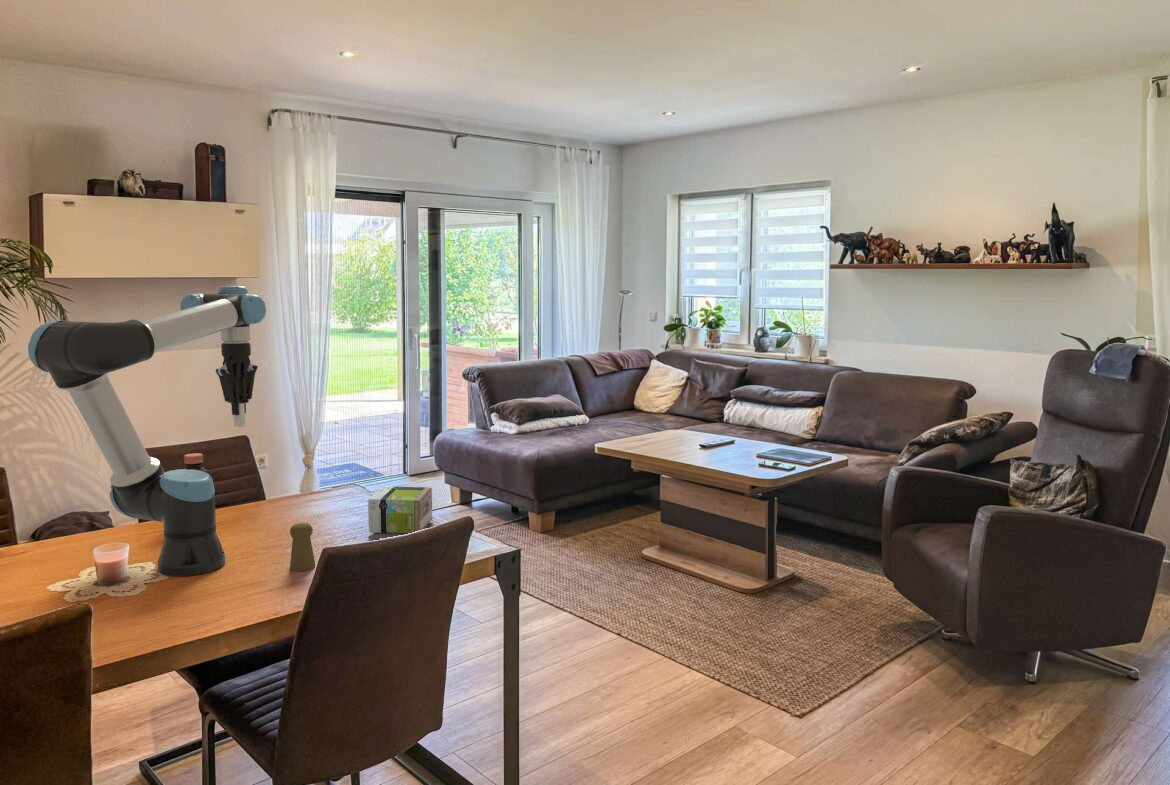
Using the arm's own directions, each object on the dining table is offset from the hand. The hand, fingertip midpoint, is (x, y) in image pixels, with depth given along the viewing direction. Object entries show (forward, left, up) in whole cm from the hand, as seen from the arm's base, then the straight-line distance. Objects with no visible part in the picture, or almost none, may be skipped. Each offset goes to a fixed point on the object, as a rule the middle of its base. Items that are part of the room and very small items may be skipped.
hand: (239, 426), depth 239 cm
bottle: (-2, +16, -30) cm, 34 cm away
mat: (+14, -43, -29) cm, 54 cm away
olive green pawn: (-19, -39, -30) cm, 52 cm away
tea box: (+16, -34, -24) cm, 44 cm away
